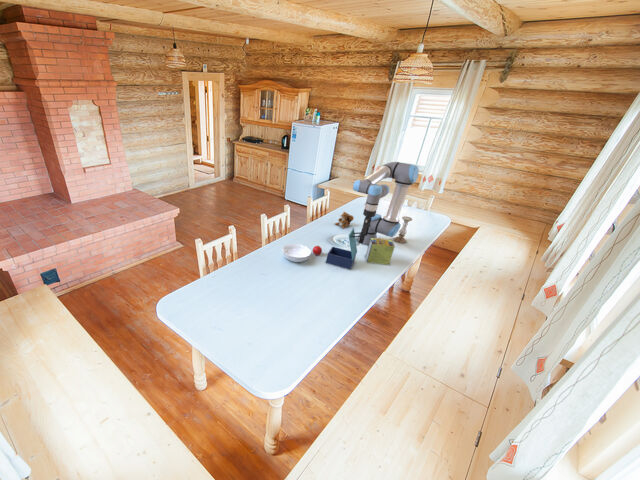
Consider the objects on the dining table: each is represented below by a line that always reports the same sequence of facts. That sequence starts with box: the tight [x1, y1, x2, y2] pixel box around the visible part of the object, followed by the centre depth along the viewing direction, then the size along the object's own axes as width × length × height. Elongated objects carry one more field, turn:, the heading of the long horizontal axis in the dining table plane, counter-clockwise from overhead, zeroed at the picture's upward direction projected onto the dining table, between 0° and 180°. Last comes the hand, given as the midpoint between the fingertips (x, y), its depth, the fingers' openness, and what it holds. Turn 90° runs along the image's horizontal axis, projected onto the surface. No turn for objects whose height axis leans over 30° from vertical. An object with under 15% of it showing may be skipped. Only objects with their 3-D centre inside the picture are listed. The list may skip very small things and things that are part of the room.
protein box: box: [365, 238, 396, 266], centre depth 231 cm, size 10×15×16 cm
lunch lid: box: [348, 227, 361, 260], centre depth 218 cm, size 18×13×8 cm
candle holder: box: [394, 215, 413, 244], centre depth 259 cm, size 9×9×20 cm
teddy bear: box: [335, 211, 355, 229], centre depth 284 cm, size 10×14×13 cm
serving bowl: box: [281, 243, 312, 263], centre depth 233 cm, size 21×21×7 cm
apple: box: [311, 245, 323, 256], centre depth 238 cm, size 7×7×8 cm
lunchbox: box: [325, 246, 357, 270], centre depth 229 cm, size 18×13×8 cm
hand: (362, 239), depth 215 cm, fingers open, 13 cm apart
